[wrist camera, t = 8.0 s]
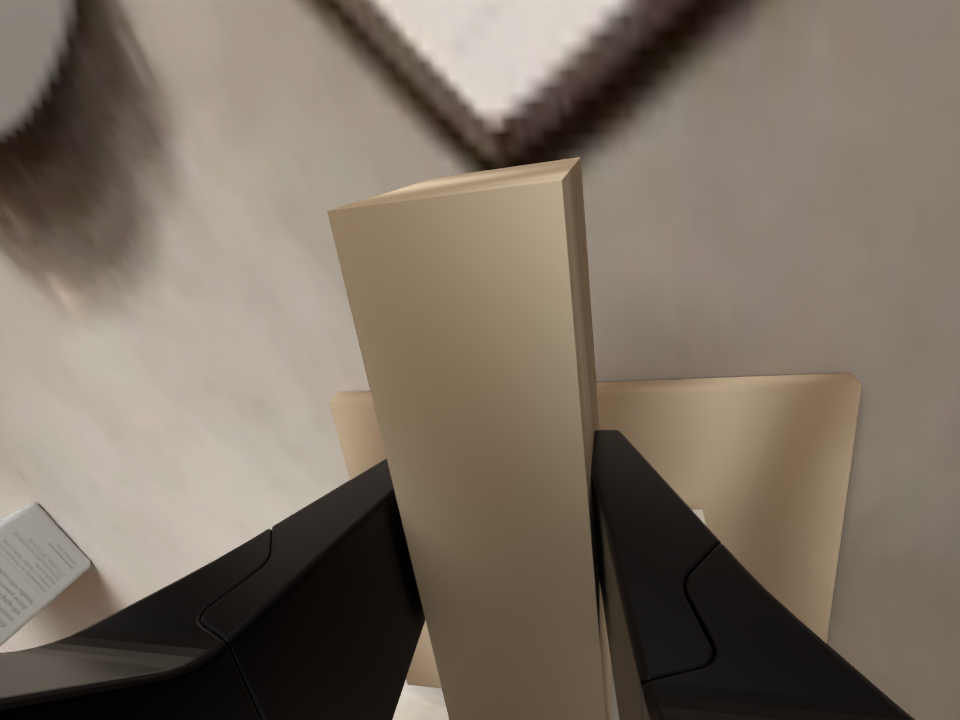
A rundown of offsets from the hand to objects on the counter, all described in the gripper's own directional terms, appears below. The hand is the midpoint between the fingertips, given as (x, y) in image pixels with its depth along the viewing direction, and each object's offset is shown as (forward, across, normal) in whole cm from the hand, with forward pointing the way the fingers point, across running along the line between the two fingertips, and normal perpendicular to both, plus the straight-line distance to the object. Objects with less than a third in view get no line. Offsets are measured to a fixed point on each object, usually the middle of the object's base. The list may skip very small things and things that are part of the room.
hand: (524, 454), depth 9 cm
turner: (+1, 0, +3) cm, 3 cm away
